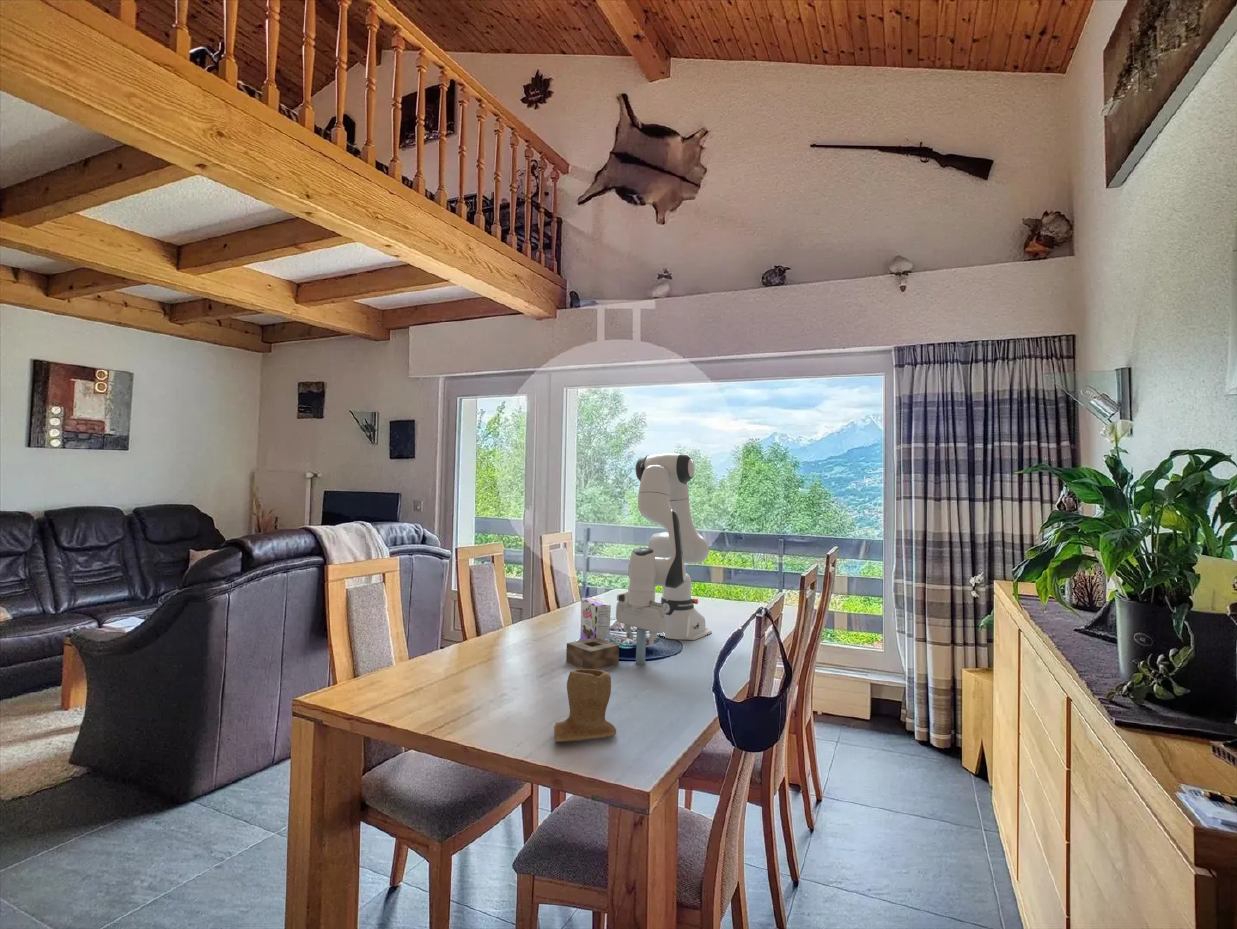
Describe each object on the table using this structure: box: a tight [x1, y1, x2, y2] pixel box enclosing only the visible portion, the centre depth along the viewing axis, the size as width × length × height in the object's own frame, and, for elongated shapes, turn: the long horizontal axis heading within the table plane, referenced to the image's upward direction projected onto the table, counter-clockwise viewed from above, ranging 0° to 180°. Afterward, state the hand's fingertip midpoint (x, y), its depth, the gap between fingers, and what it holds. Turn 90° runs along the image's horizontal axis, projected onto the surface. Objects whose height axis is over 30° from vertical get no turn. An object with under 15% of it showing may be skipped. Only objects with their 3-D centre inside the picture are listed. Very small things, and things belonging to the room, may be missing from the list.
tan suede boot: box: [553, 668, 617, 743], centre depth 145 cm, size 15×12×15 cm
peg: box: [635, 627, 647, 666], centre depth 202 cm, size 3×3×12 cm
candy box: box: [579, 596, 612, 641], centre depth 218 cm, size 14×6×16 cm, turn 25°
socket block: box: [565, 637, 620, 670], centre depth 201 cm, size 12×12×6 cm
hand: (639, 641), depth 201 cm, fingers open, 8 cm apart
